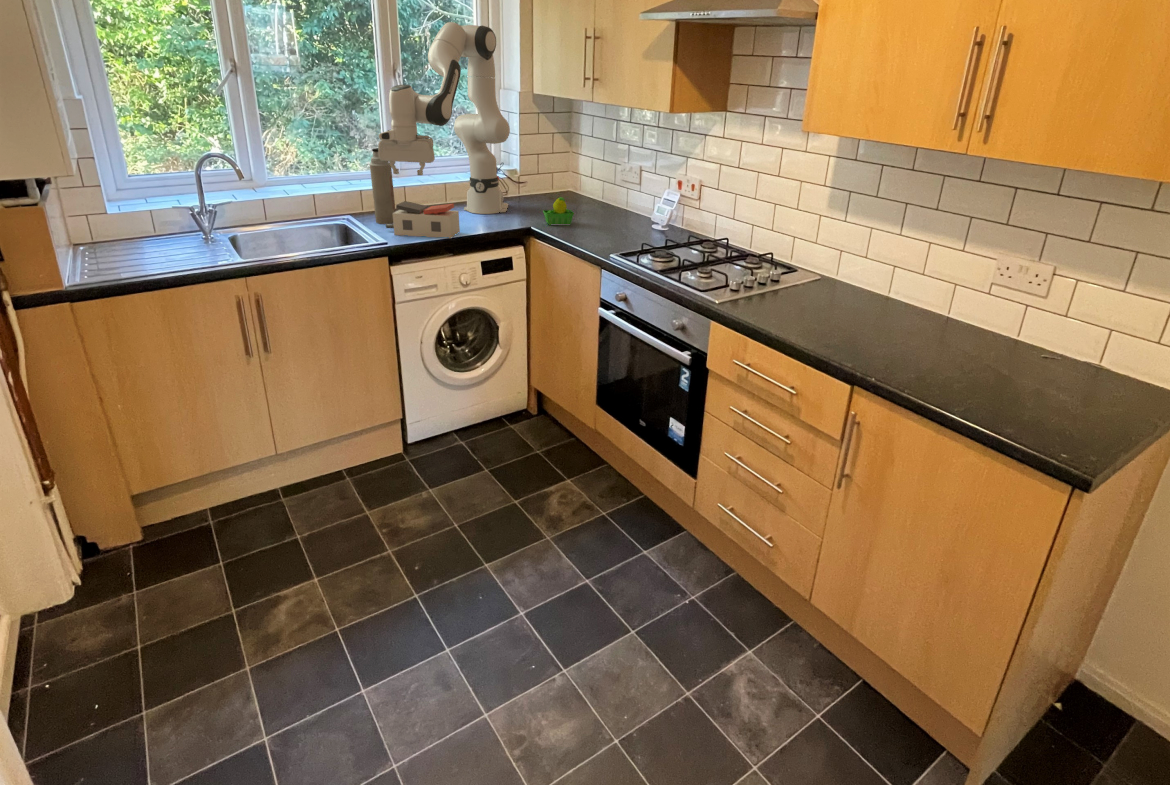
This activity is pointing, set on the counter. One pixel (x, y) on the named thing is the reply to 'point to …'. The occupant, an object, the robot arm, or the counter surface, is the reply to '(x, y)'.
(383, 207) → the thermos bottle
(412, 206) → the black rocker
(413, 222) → the rocker switch box
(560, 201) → the fruit basket
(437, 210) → the red rocker
